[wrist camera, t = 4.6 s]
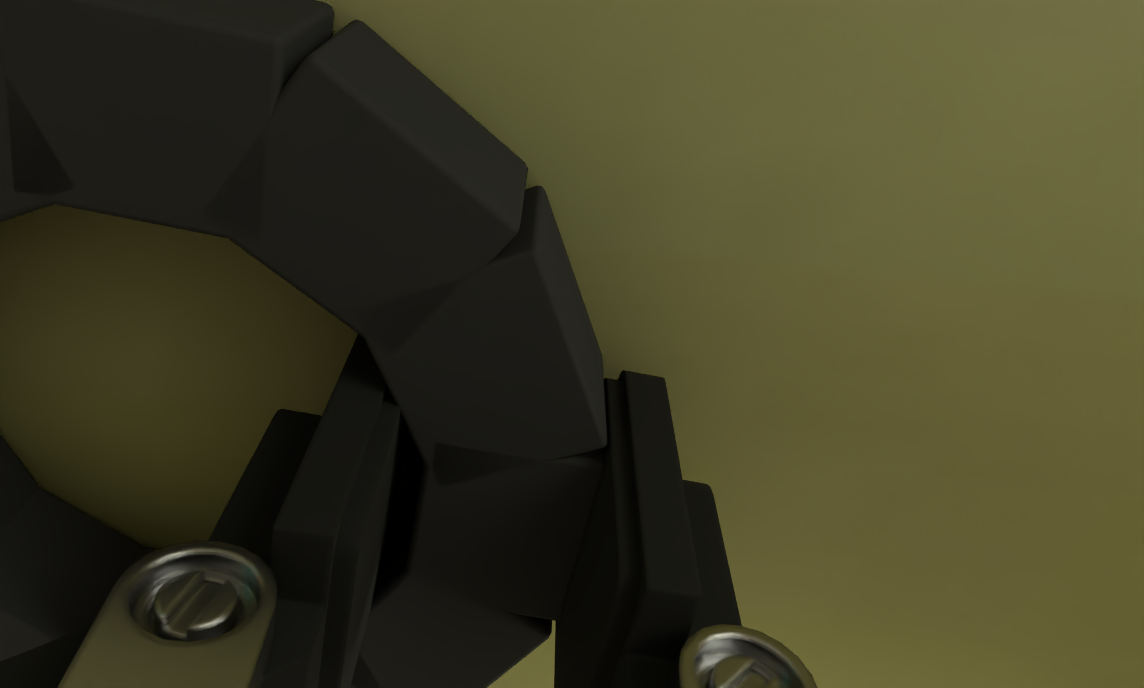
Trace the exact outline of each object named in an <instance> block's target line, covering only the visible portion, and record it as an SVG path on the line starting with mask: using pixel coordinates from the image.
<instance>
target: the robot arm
mask: <svg viewBox="0 0 1144 688" xmlns="http://www.w3.org/2000/svg"><path fill="white" fill-rule="evenodd" d="M604 395H605V411H606V428H607V445H606V446H605V447H604V457H605V466H604V471H603V474H602V478H601V481H600V485H599V488H598V492H597V495H596V499H595V502H594V506H593V509H592V512H591V516H590V519H589V523H588V526H587V530H586V533H585V537H584V540H583V543H582V547H581V550H580V554H579V557H578V561H577V564H576V568H575V571H574V575H573V578H572V581H571V585H570V588H569V592H568V595H567V599H566V602H565V606H564V609H563V613H562V616H561V619H560V620H556V632H555V676H554V688H817V686H816V683H815V681H814V679H813V676H812V674H811V673H810V672H809V670H808V669H807V668H806V667H805V665H804V664H803V663H802V661H801V660H800V659H799V657H797V656H796V655H795V654H794V653H793V652H791V651H790V650H789V649H788V648H787V647H785V646H784V645H783V644H782V643H780V642H779V641H777V640H775V639H773V638H771V637H769V636H768V635H766V634H764V633H762V632H760V631H756V630H753V629H750V628H747V627H743V626H742V625H741V620H740V615H739V611H738V606H737V602H736V597H735V592H734V588H733V583H732V579H731V574H730V569H729V565H728V560H727V556H726V551H725V547H724V542H723V537H722V533H721V528H720V524H719V519H718V514H717V510H716V505H715V501H714V496H713V493H712V490H711V487H710V486H708V485H707V484H704V483H698V482H692V481H687V480H682V474H681V469H680V463H679V457H678V451H677V446H676V440H675V434H674V428H673V423H672V417H671V411H670V405H669V400H668V394H667V388H666V382H665V379H664V378H662V377H656V376H651V375H646V374H641V373H635V372H630V371H625V370H623V371H622V372H621V374H620V376H619V378H618V380H614V379H609V378H605V379H604ZM400 412H401V407H398V406H397V405H396V403H395V401H394V399H393V397H392V394H391V392H390V390H389V388H388V386H387V384H386V382H385V380H384V378H383V376H382V374H381V372H380V370H379V368H378V366H377V364H376V362H375V359H374V357H373V355H372V353H371V351H370V349H369V347H368V345H367V343H366V341H365V339H364V337H362V336H361V335H360V334H358V336H357V338H356V340H355V342H354V345H353V347H352V349H351V351H350V354H349V356H348V358H347V360H346V363H345V365H344V367H343V370H342V372H341V374H340V376H339V379H338V381H337V383H336V385H335V388H334V390H333V392H332V394H331V397H330V399H329V401H328V403H327V406H326V408H325V410H324V413H323V415H322V416H321V415H315V414H310V413H304V412H298V411H293V410H287V409H279V410H278V411H277V412H276V414H275V415H274V417H273V418H272V420H271V422H270V424H269V426H268V428H267V430H266V432H265V434H264V435H263V437H262V439H261V441H260V443H259V445H258V447H257V449H256V451H255V453H254V454H253V456H252V458H251V460H250V462H249V464H248V466H247V468H246V470H245V472H244V473H243V475H242V477H241V479H240V481H239V483H238V485H237V487H236V489H235V491H234V492H233V494H232V496H231V498H230V500H229V502H228V504H227V506H226V508H225V509H224V511H223V513H222V515H221V517H220V519H219V521H218V523H217V525H216V527H215V528H214V530H213V532H212V534H211V536H210V538H209V540H208V541H191V542H185V543H179V544H174V545H169V546H167V547H164V548H162V549H159V550H157V551H154V552H152V553H149V554H147V555H146V556H144V557H143V558H141V559H140V560H138V561H137V562H135V563H134V564H133V565H131V566H130V567H128V569H127V570H126V571H125V572H124V573H123V575H122V576H121V577H120V578H119V580H118V581H117V582H116V583H115V585H114V587H113V588H112V590H111V592H110V594H109V596H108V597H107V599H106V601H105V603H104V605H103V606H102V608H101V610H100V612H99V614H98V615H97V617H96V619H95V621H94V623H93V624H92V625H91V626H88V627H86V628H83V629H81V630H78V631H76V632H73V633H71V634H68V635H66V636H63V637H61V638H58V639H56V640H53V641H51V642H48V643H46V644H43V645H41V646H38V647H36V648H33V649H31V650H28V651H26V652H23V653H21V654H18V655H16V656H13V657H11V658H8V659H6V660H3V661H1V662H0V688H350V685H351V681H352V678H353V674H354V670H355V666H356V663H357V659H358V655H359V651H360V648H361V644H362V640H363V636H364V632H365V629H366V625H367V621H368V617H369V614H370V610H371V605H372V600H373V596H374V592H375V588H376V585H377V581H378V577H379V573H380V569H381V566H382V562H383V558H384V554H385V551H386V547H387V543H388V539H389V536H390V532H391V528H392V524H393V521H394V516H395V511H396V505H397V499H398V493H399V487H400V480H401V474H402V467H403V461H404V455H405V448H406V442H407V436H408V427H407V425H406V423H405V421H404V419H403V417H402V415H401V413H400Z"/></svg>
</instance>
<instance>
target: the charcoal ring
mask: <svg viewBox="0 0 1144 688" xmlns="http://www.w3.org/2000/svg"><path fill="white" fill-rule="evenodd" d="M333 18H334V13H333V9H332V7H331V6H330V5H328V4H327V3H324V2H320V1H315V0H0V222H2V221H5V220H8V219H11V218H14V217H17V216H20V215H23V214H26V213H29V212H33V211H36V210H39V209H42V208H45V207H48V206H51V205H54V204H57V205H62V206H67V207H72V208H77V209H83V210H88V211H93V212H98V213H103V214H108V215H113V216H118V217H123V218H128V219H133V220H138V221H143V222H148V223H154V224H159V225H164V226H169V227H174V228H179V229H184V230H189V231H194V232H199V233H204V234H209V235H214V236H220V237H225V238H228V239H230V240H231V241H232V242H234V243H235V244H236V245H238V246H239V247H241V248H242V249H243V250H245V251H246V252H247V253H249V254H250V255H251V256H253V257H254V258H256V259H257V260H258V261H260V262H261V263H262V264H264V265H265V266H267V267H268V268H269V269H271V270H272V271H273V272H275V273H276V274H277V275H279V276H280V277H282V278H283V279H284V280H286V281H287V282H288V283H290V284H291V285H293V286H294V287H295V288H297V289H298V290H299V291H301V292H302V293H304V294H305V295H306V296H308V297H309V298H310V299H312V300H313V301H314V302H316V303H317V304H319V305H320V306H321V307H323V308H324V309H325V310H327V311H328V312H330V313H331V314H332V315H334V316H335V317H336V318H338V319H339V320H340V321H342V322H343V323H345V324H346V325H347V326H349V327H350V328H351V329H353V330H354V331H356V332H357V333H358V334H360V335H361V336H362V337H364V339H365V341H366V343H367V345H368V347H369V349H370V351H371V353H372V355H373V357H374V359H375V362H376V364H377V366H378V368H379V370H380V372H381V374H382V376H383V378H384V380H385V382H386V384H387V386H388V388H389V390H390V392H391V394H392V397H393V399H394V401H395V403H396V405H397V406H398V407H401V412H400V413H401V415H402V417H403V419H404V421H405V423H406V425H407V427H408V429H409V432H410V434H411V436H412V438H413V440H414V442H415V444H416V446H417V448H418V450H419V452H420V454H421V456H422V458H423V460H424V463H423V469H422V475H421V481H420V482H419V483H418V484H417V485H416V486H415V487H414V488H413V489H412V490H411V491H410V492H409V493H408V494H407V495H406V496H405V497H404V498H403V499H402V500H400V501H399V502H398V503H397V505H396V511H395V516H394V521H393V524H392V528H391V532H390V536H389V539H388V543H387V547H386V551H385V554H384V558H383V562H382V566H381V569H380V573H379V577H378V581H377V585H376V588H375V592H374V596H373V600H372V605H371V610H370V614H369V617H368V621H367V625H366V629H365V632H364V636H363V640H362V644H361V648H360V651H359V655H358V659H357V663H356V666H355V670H354V674H353V678H352V681H351V685H350V688H487V687H488V686H489V685H491V684H492V683H493V682H494V681H496V680H497V679H498V678H499V677H501V676H502V675H503V674H504V673H506V672H507V671H508V670H509V669H511V668H512V667H513V666H514V665H516V664H517V663H518V662H519V661H521V660H522V659H523V658H524V657H526V656H527V655H528V654H529V653H530V652H532V651H533V650H534V649H535V648H537V647H538V646H539V645H540V644H542V643H543V642H544V641H545V640H547V639H548V638H549V636H550V634H551V632H552V620H555V621H556V620H560V619H561V616H562V613H563V609H564V606H565V602H566V599H567V595H568V592H569V588H570V585H571V581H572V578H573V575H574V571H575V568H576V564H577V561H578V557H579V554H580V550H581V547H582V543H583V540H584V537H585V533H586V530H587V526H588V523H589V519H590V516H591V512H592V509H593V506H594V502H595V499H596V495H597V492H598V488H599V485H600V481H601V478H602V474H603V471H604V466H605V457H604V447H605V446H606V445H607V428H606V411H605V395H604V379H603V362H602V354H601V351H600V348H599V346H598V343H597V340H596V337H595V334H594V331H593V328H592V325H591V322H590V320H589V317H588V314H587V311H586V308H585V305H584V302H583V299H582V296H581V294H580V291H579V288H578V285H577V282H576V279H575V276H574V273H573V270H572V267H571V265H570V262H569V259H568V256H567V253H566V250H565V247H564V244H563V241H562V239H561V236H560V233H559V230H558V227H557V224H556V221H555V218H554V215H553V213H552V210H551V207H550V204H549V201H548V198H547V195H546V192H545V190H544V189H543V187H542V186H535V187H532V188H529V189H526V190H525V186H526V179H527V171H528V168H527V166H526V164H525V162H523V161H522V160H521V159H520V158H519V157H518V156H517V155H515V154H514V153H513V152H512V151H511V150H510V149H508V148H507V147H506V146H505V145H504V144H503V143H502V142H500V141H499V140H498V139H497V138H496V137H495V136H494V135H492V134H491V133H490V132H489V131H488V130H487V129H485V128H484V127H483V126H482V125H481V124H480V123H479V122H477V121H476V120H475V119H474V118H473V117H472V116H470V115H469V114H468V113H467V112H466V111H465V110H464V109H462V108H461V107H460V106H459V105H458V104H457V103H456V102H454V101H453V100H452V99H451V98H450V97H449V96H447V95H446V94H445V93H444V92H443V91H442V90H441V89H439V88H438V87H437V86H436V85H435V84H434V83H433V82H431V81H430V80H429V79H428V78H427V77H426V76H424V75H423V74H422V73H421V72H420V71H419V70H418V69H416V68H415V67H414V66H413V65H412V64H411V63H409V62H408V61H407V60H406V59H405V58H404V57H403V56H401V55H400V54H399V53H398V52H397V51H396V50H395V49H393V48H392V47H391V46H390V45H389V44H388V43H386V42H385V41H384V40H383V39H382V38H381V37H380V36H378V35H377V34H376V33H375V32H374V31H373V30H372V29H370V28H369V27H368V26H367V25H366V24H365V23H363V22H361V21H359V20H354V21H352V22H351V23H349V24H348V25H347V26H345V27H344V28H343V29H341V30H340V31H339V32H338V33H336V34H335V35H334V36H332V30H333ZM154 551H157V549H150V548H144V547H141V546H140V545H138V544H136V543H135V542H133V541H131V540H129V539H128V538H126V537H124V536H123V535H121V534H119V533H117V532H116V531H114V530H112V529H110V528H109V527H107V526H105V525H104V524H102V523H100V522H98V521H97V520H95V519H93V518H92V517H90V516H88V515H86V514H85V513H83V512H81V511H79V510H78V509H76V508H74V507H73V506H71V505H69V504H67V503H66V502H64V501H62V500H61V499H59V498H57V497H55V496H54V495H52V494H50V493H49V492H47V491H45V490H43V489H42V488H40V487H39V486H38V484H37V483H36V482H35V480H34V479H33V478H32V476H31V475H30V474H29V472H28V471H27V470H26V468H25V467H24V466H23V464H22V463H21V462H20V460H19V459H18V458H17V456H16V455H15V454H14V452H13V451H12V450H11V448H10V447H9V446H8V444H7V443H6V442H5V440H4V439H3V438H2V436H1V435H0V662H1V661H3V660H6V659H8V658H11V657H13V656H16V655H18V654H21V653H23V652H26V651H28V650H31V649H33V648H36V647H38V646H41V645H43V644H46V643H48V642H51V641H53V640H56V639H58V638H61V637H63V636H66V635H68V634H71V633H73V632H76V631H78V630H81V629H83V628H86V627H88V626H91V625H92V624H93V623H94V621H95V619H96V617H97V615H98V614H99V612H100V610H101V608H102V606H103V605H104V603H105V601H106V599H107V597H108V596H109V594H110V592H111V590H112V588H113V587H114V585H115V583H116V582H117V581H118V580H119V578H120V577H121V576H122V575H123V573H124V572H125V571H126V570H127V569H128V567H130V566H131V565H133V564H134V563H135V562H137V561H138V560H140V559H141V558H143V557H144V556H146V555H147V554H149V553H152V552H154Z"/></svg>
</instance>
